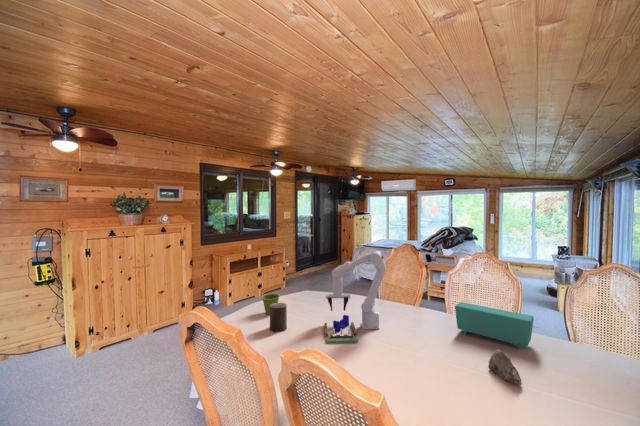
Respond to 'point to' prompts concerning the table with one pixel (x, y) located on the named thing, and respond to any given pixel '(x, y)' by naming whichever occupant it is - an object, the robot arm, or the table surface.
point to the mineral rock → (504, 367)
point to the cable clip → (341, 323)
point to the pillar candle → (278, 317)
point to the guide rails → (351, 326)
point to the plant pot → (269, 301)
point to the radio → (495, 323)
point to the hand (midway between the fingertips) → (338, 310)
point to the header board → (342, 338)
